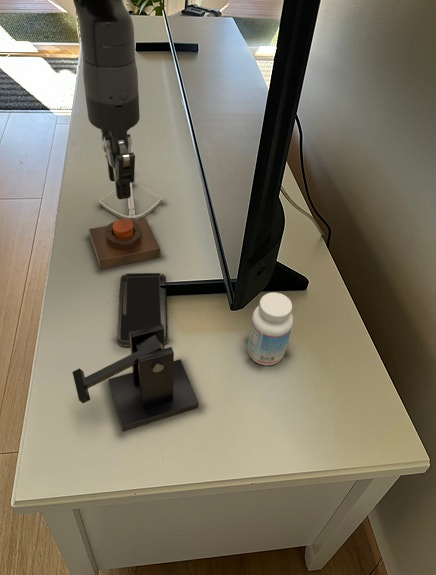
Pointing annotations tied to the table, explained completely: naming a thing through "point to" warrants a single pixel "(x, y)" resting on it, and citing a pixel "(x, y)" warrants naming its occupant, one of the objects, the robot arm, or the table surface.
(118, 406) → the bracket
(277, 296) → the pill bottle
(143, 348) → the lever
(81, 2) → the robot arm
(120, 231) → the button
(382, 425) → the table surface
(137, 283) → the phone
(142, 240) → the button block
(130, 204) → the crossbow
